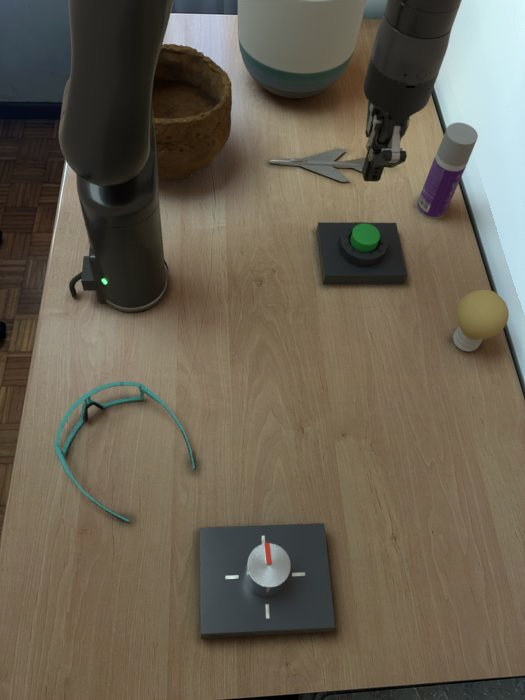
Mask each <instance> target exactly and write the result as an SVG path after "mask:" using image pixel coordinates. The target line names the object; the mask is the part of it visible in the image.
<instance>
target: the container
mask: <svg viewBox="0 0 525 700" xmlns="http://www.w3.org/2000/svg"><path fill="white" fill-rule="evenodd" d="M478 137H479V135H478V132H477V130H476V129H475V128H474V127H473V126H471V125H469V124H468V123H464V122H454V123H450V124H449V125H448V126H447V127H446V130H445V131H444V135H443V137H442V139H441V141H440V144H439V146H438V149H437V150H436V152H435V155H434V158H433V162H432V163H431V166H430V169H429V171H428V174H427V176H426V179H425V182H424V185H423V187H422V189H421V192H420V194H419V197H418V200H417V203H416V210H417V211H418V213H419V214H420V215H421V216H422V217H424V218H426V219H430V220H438V219H441V218H442V217H443V218H444V216H445V214H446V212H447V210H448V208H449V206H450V203H451V201H452V199H453V197H454V194H455V192H456V190H457V187H458V186H459V184H460V181H461V178H462V176H463V174H464V172H465V170H466V167H467V165H468V163H469V160H470V157H471V156H472V153H473V150H474V147H475V145H476V143H477V141H478Z"/></svg>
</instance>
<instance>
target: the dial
mask: <svg viewBox="0 0 525 700" xmlns="http://www.w3.org/2000/svg"><path fill="white" fill-rule="evenodd" d="M290 569H291V563H290V558H289V556H288V554H287V553H286V551H285V550H284V549H283V548H282V547H280V546H278V545H276V544H273V543H264V544H261V545H259V546H257V547H256V548H255V549H254V550H253V551H252V552H251V554H250V555H249V558H248V562H247V567H246V571H245V580H246V584H247V586H248V588H249V589H250V590H251V591H252V592H253V593H254V594H256V595H258V596H260V597H271V596H274V595H276V594H277V593H279V592H280V591H281V590H282V588H283V586H284V584H285V582H286V580H287V578H288V576H289V573H290Z"/></svg>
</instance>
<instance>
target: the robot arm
mask: <svg viewBox="0 0 525 700" xmlns="http://www.w3.org/2000/svg"><path fill="white" fill-rule="evenodd" d="M67 1H68V2H67V4H68V17H69V18H68V19H69V31H70V47H71V59H70V62H71V63H70V72H69V73H70V74H69V76H70V77H68V80H67V81H66V84H65V87H64V90H63V95H62V102H61V103H62V104H61V110H60V111H61V112H60V118H59V125H58V143H59V147H60V151H61V153H62V155H63V158H64V159H65V162H66V163H67V165H68V166H69V167H70V169H71V170H72V171H73V172H74V173H75V174H76V191H77V196H78V197H77V198H78V200H79V205H80V208H81V213H82V217H83V221H84V226H85V230H86V234H87V239H88V242H89V250H88V255H83V258H82V265H81V266H82V268H81V271H80V272H79V273H77V274H76V275H74V277H73V278H71V280H70V281H69V282H68V283H69V284H68V288H69V291H70V295H71V297H72V298H76V297H77V296H78V294H77V291H76V284H77V283H78V282H79V281H80V282H81V287H82V290H83V291H84V292H96V297H97V300H98V303H99V304H107V305H108V306H109V307H111V308H112V309H114V310H117V311H120V312H125V313H139V312H144V311H146V310H150V309H151V308H153V307H154V306H156V305H157V304H158V303H160V302H161V301H162V299H163V298H164V296H165V294H166V292H167V288H168V278H167V272H168V273H169V272H170V271H169V270H170V269H169V266H168V264H167V261H166V260H165V252H164V241H163V240H164V239H163V229H162V218H161V217H162V216H161V206H160V196H159V195H160V194H159V178H158V164H157V151H156V136H155V122H154V110H153V102H152V89H153V81H154V75H155V70H156V65H157V61H158V57H159V54H160V51H161V47H162V44H163V43H164V40H165V36H166V33H167V29H168V26H169V21H170V19H171V18H170V17H171V14H172V10H173V6H174V1H175V0H67ZM462 1H463V0H386V4H385V8H384V11H383V14H382V18H381V19H380V22H379V24H378V27H377V30H376V33H375V36H374V37H375V38H374V40H373V46H372V49H371V52H370V57H369V60H368V61H369V62H368V65H367V70H366V73H365V78H364V81H363V86H362V87H363V93H364V96H365V98H366V100H367V102H368V103H367V113H366V124H365V125H366V126H365V132H364V134H365V137H366V138H367V142H366V145H365V147H366V155H365V157H366V158H365V162H364V165H363V169H362V172H361V174H362V178H363V179H362V180H363V181H364V182H375V183H376V182H379V181H380V180H381V178H382V175H383V172H384V168H387V169H393V168H395V167H397V166H399V165H401V164H404V163H405V162H406V160H407V157H408V155H407V151H406V150H404V149H403V148H402V147H401V142H402V139H403V137H404V136H405V135H406V132H407V130H408V128H409V125H410V121H411V119H410V117H412V116H413V115H415V114H416V113H419V112H420V111H422V110H423V109H424V108H426V107H427V105H428V103H429V101H430V99H431V96H432V93H433V91H434V87H435V84H436V82H437V79H438V76H439V74H440V70H441V68H442V65H443V62H444V59H445V56H446V54H447V50H448V47H449V42H450V37H451V33H452V31H453V26H454V23H455V21H456V18H457V15H458V12H459V9H460V6H461V4H462ZM163 45H164V44H163ZM166 270H167V271H166Z"/></svg>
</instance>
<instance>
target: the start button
mask: <svg viewBox="0 0 525 700" xmlns="http://www.w3.org/2000/svg"><path fill="white" fill-rule="evenodd" d="M379 239H380V233H379V231H378V229H377V228H376V227H374V226H373V225H370V224H365V223H364V224H359V225H357V226H355V227H354V229H353V231H352V235H351V238H350V243H351V245H352V247H353V248H354V249H356V250H357V251H360V252H364V253H368V252H371V251H373V250H375V249H376V247H377V245H378V242H379Z"/></svg>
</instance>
